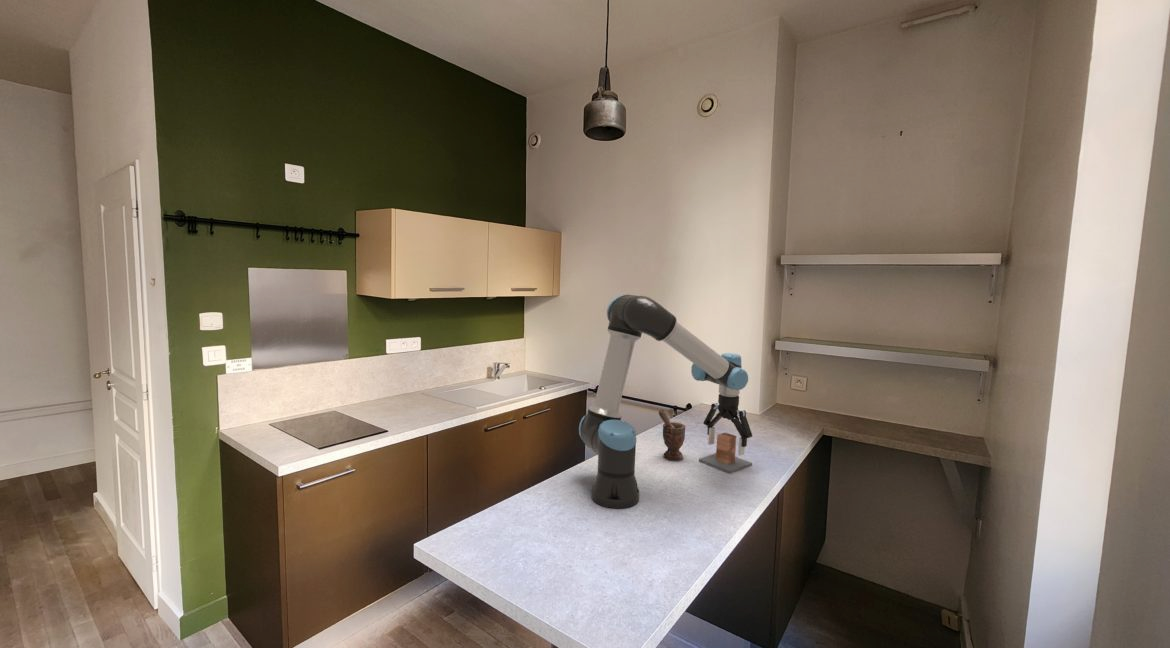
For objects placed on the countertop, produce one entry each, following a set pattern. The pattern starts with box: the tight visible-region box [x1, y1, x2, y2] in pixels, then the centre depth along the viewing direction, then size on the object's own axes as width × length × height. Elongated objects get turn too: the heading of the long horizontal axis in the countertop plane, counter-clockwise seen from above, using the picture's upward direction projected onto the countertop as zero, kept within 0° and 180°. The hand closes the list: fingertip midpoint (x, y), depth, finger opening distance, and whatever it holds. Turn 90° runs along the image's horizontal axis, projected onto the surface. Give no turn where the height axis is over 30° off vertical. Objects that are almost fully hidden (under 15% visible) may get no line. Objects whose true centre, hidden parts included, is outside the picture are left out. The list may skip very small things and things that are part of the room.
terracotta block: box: [715, 432, 737, 464], centre depth 179 cm, size 5×5×10 cm
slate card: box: [698, 453, 753, 474], centre depth 180 cm, size 14×14×1 cm
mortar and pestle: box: [658, 408, 686, 461], centre depth 182 cm, size 12×9×20 cm
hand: (725, 449), depth 179 cm, fingers open, 13 cm apart
